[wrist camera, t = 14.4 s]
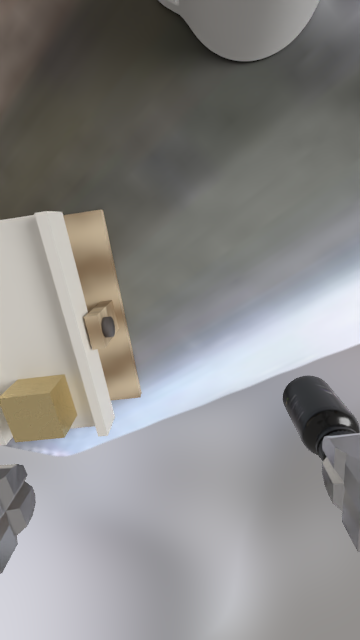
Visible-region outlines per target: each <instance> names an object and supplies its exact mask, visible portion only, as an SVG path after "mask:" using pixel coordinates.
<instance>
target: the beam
mask: <svg viewBox="0 0 360 640" xmlns="http://www.w3.org/2000/svg"><path fill="white" fill-rule="evenodd" d="M34 214H35V215H31V216H24V217H18V218H11V219H5V220H0V396H1V395H2V394H3V393H4V392H5V391H6V390H7V389H8V388H9V387H10V386H11V385H12V384H14V383H15V382H16V381H17V380H18V379H27V378H35V377H44V376H53V375H62V374H65V377H66V380H67V383H68V387H69V390H70V393H71V396H72V399H73V403H74V406H75V409H76V412H77V417H76V418H75V420H74V422H73V424H72V425H71V427H70V429H71V428H81V427H91V426H96V430H97V433H98V436H108V434H109V431H110V429H111V426H112V423H113V421H114V418H115V416H114V412H113V408H112V404H111V400H110V396H109V392H108V388H107V384H106V381H105V377H104V373H103V369H102V365H101V361H100V357H99V353H98V349H96V350H92V346H91V342H90V338H89V334H88V330H87V327H86V323H85V319H84V316H85V315H87V314H88V310H87V307H86V303H85V299H84V295H83V291H82V287H81V283H80V279H79V275H78V271H77V268H76V264H75V260H74V256H73V252H72V248H71V244H70V240H69V236H68V233H67V229H66V225H65V221H64V217H63V213H62V212H54V211H44V212H38V213H34ZM12 437H13V436H12V433H11V431H10V428H9V426H8V423H7V421H6V419H5V416H4V414H3V411H2V409H1V406H0V446H1V445H7V443H8V442H9V441H10V440H11V438H12Z"/></svg>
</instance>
